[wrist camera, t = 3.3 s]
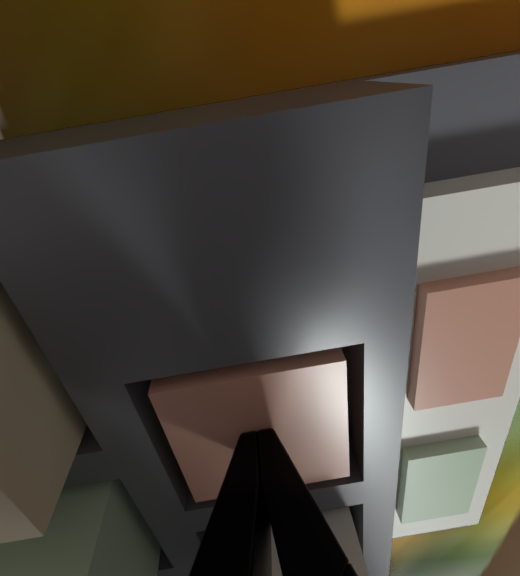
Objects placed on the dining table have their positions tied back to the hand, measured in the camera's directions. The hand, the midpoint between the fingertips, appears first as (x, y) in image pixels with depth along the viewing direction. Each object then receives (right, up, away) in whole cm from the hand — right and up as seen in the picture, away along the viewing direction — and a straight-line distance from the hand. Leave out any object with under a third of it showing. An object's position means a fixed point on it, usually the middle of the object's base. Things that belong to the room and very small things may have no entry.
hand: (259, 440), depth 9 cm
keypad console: (0, -1, +5) cm, 5 cm away
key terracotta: (0, +2, +3) cm, 3 cm away
